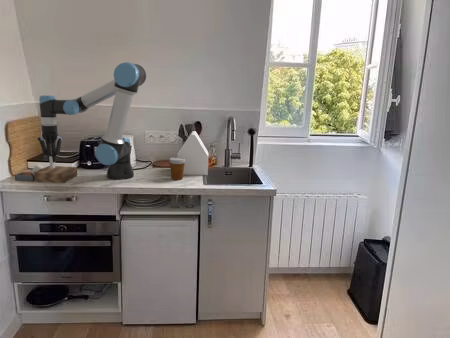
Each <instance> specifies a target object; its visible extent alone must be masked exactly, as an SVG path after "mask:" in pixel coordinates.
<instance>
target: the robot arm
mask: <svg viewBox="0 0 450 338" xmlns="http://www.w3.org/2000/svg"><path fill="white" fill-rule="evenodd" d="M113 78H114V79H113V80H110V81H109V82H108V81H107V82H105V84H102V85H101V86H99V87H97V88H95V89H93V90H91V91H88V92H87V93H84V94H83V95H82V96H79V97H77V98H75V99H56V97H55V96H54V95H49V94H48V95H47V94H46V95H40V96H39V100H38V101H39V103H38V104H39V105H38V106H39V112H40V124H41V136H39V137H37V141H39V144H40V147H41V150H42V153H43V156H47V163H49V166H50V168H55V166H56V162H57V156H59V155H60V152H61V148H62V146H61V145H62V141H63V140H64V138H63V137H60V136H59V134H58V125H57V124H58V121H57V115H68V116H71V115H72V116H73V115H78V114H81V113H84V112H86V111H88V109H91V108H92V107H94V106H96V105H98V104H100V103H102V102H104V101H106V100H108V99H110V98H112V97H114V98H113V103H112V108H111V111H110V115H109V120H108V124H107V127H106V133H105V134H104V135H102V137H101V139H100V144H99V145H98V146H97V147H96V149H95V151H94V156H95V158H96V160H97V162H99V163H100V164H102V165H103V166H108V167H107V171H106V177H107V178H108V179H111V180H129V179H132V178H133V177H134V176H135V171H134V169H133V166H132V163H131V161H132V160H131V145H132V144H131V139H130V138H129V137H123V136H124V134H125V129H126V125H127V121H128V118H129V112H130V111H131V110H130V109H131V105H132V103H133V97H134V95H136V94H137V93H138V91H139V87H141V86H142V85H143V84H144V83H145V82H146V81H147V80H146V79H147V72H146V69H145V68H144V67H143V66H142V65H140V64H138V63H134V62H133V63H132V62H122V63H119V64H118V65H117V66H116V67H115V69H114V71H113Z"/></svg>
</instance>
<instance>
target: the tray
mask: <svg viewBox="0 0 450 338" xmlns="http://www.w3.org/2000/svg"><path fill="white" fill-rule="evenodd" d="M33 168H34V167H32V168H31V167H30V168H29V169H27V170H32V169H33ZM22 172H23V171H21V172H19V173H17V174H14V181H18V182H19V181H20V182H35V180H34V175H33V176H27V175H22Z"/></svg>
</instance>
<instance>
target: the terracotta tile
mask: <svg viewBox="0 0 450 338" xmlns="http://www.w3.org/2000/svg"><path fill="white" fill-rule="evenodd" d="M30 171H31V170H28V169H25V170H23V171H21V172H22V175H27V176H33V174H32V173H31V172H30Z"/></svg>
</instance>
